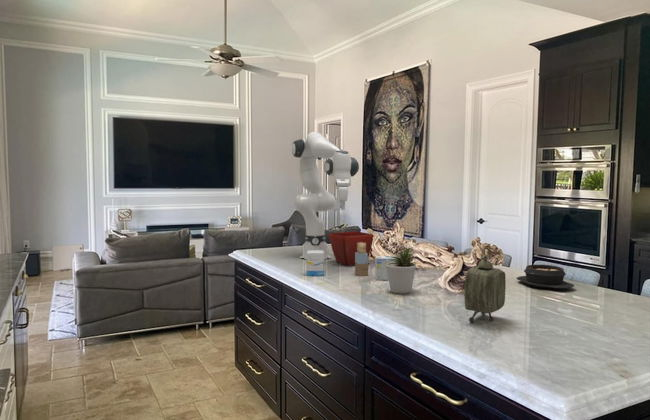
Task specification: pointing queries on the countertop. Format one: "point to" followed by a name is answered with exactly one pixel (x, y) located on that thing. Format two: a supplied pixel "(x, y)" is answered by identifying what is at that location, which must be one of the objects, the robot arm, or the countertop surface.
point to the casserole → (545, 277)
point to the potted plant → (401, 272)
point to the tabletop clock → (484, 288)
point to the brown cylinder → (361, 248)
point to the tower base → (361, 269)
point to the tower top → (361, 258)
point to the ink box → (315, 263)
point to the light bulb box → (382, 267)
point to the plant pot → (349, 245)
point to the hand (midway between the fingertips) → (342, 209)
